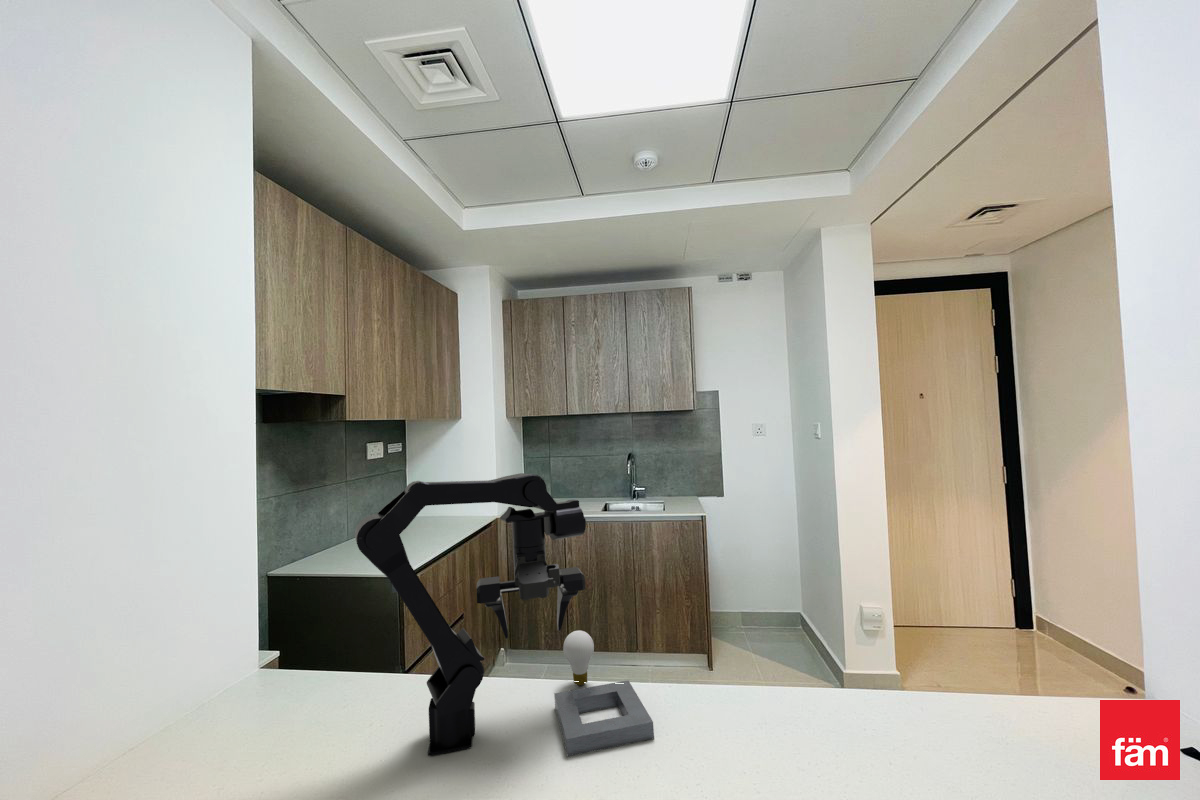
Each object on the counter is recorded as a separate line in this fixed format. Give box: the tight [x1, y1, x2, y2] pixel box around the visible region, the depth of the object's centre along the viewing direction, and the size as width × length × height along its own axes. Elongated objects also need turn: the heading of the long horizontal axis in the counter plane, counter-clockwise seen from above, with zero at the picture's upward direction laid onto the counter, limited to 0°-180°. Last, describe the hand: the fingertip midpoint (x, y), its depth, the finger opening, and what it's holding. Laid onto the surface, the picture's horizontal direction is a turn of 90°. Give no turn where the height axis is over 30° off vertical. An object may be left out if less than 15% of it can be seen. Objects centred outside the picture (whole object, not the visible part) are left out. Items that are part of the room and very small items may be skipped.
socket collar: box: [554, 679, 655, 757], centre depth 80 cm, size 14×14×2 cm
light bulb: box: [562, 630, 595, 687], centre depth 93 cm, size 6×6×10 cm
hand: (533, 634), depth 86 cm, fingers open, 9 cm apart
